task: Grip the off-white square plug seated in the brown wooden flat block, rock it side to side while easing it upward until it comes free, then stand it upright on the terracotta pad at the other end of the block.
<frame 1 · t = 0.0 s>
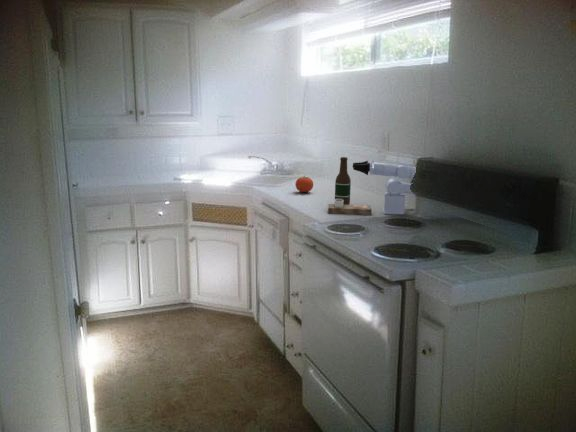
hand: (353, 166, 244), 22 cm above the worktop, tool horizontal, fingers open, 7 cm apart
beer bottle: (342, 204, 266), on the worktop
plug: (338, 211, 249), resting in brown wooden flat block
tomato: (304, 192, 299), on the worktop
brown wooden flat block: (349, 211, 248), on the worktop
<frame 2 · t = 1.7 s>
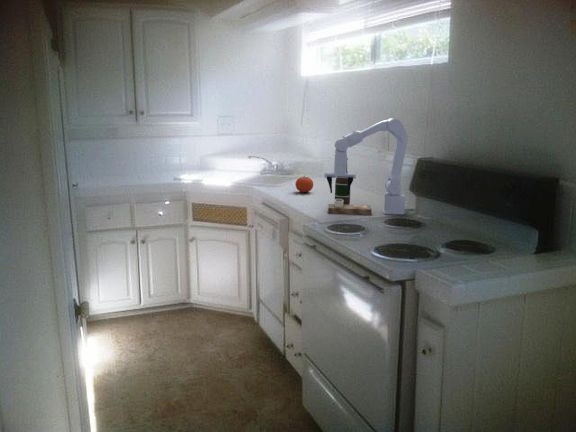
hand: (339, 193, 247), 9 cm above the worktop, tool pointing down, fingers open, 7 cm apart
nothing on the worktop moved.
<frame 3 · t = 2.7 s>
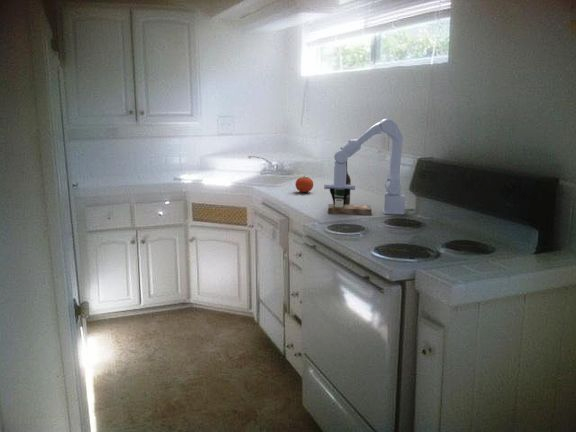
hand: (338, 204, 248), 3 cm above the worktop, tool pointing down, fingers closed on plug, 4 cm apart
plug: (338, 211, 249), resting in brown wooden flat block, touching gripper
everything else where it was.
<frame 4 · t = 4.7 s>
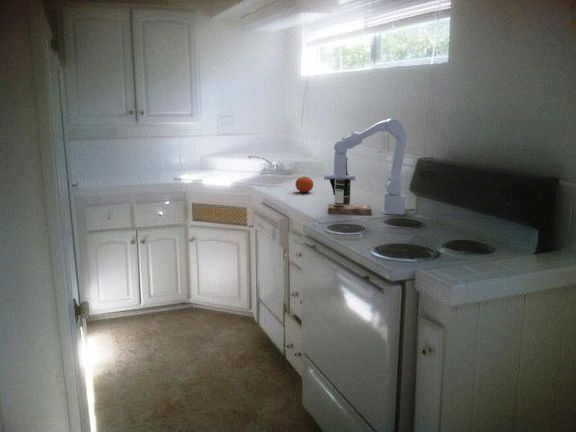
hand: (339, 195, 247), 8 cm above the worktop, tool pointing down, fingers closed on plug, 4 cm apart
plug: (338, 202, 248), point 4 cm above the worktop, touching gripper
everything else where it was.
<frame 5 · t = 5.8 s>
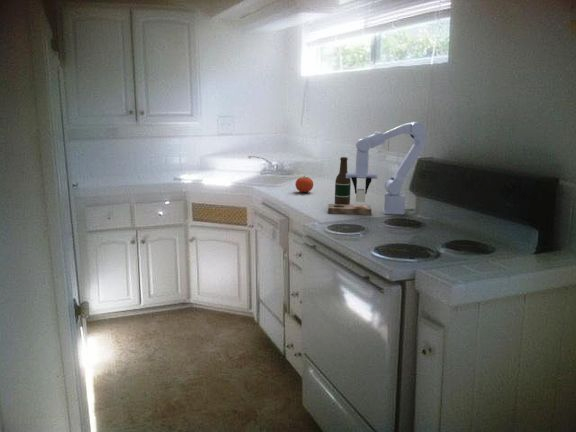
hand: (360, 193, 246), 9 cm above the worktop, tool pointing down, fingers closed on plug, 4 cm apart
plug: (360, 201, 247), point 5 cm above the worktop, touching gripper
everything else where it was.
when the fingers open (7 cm above the worktop, at t = 6.5 s): plug stays where it is, resting on brown wooden flat block.
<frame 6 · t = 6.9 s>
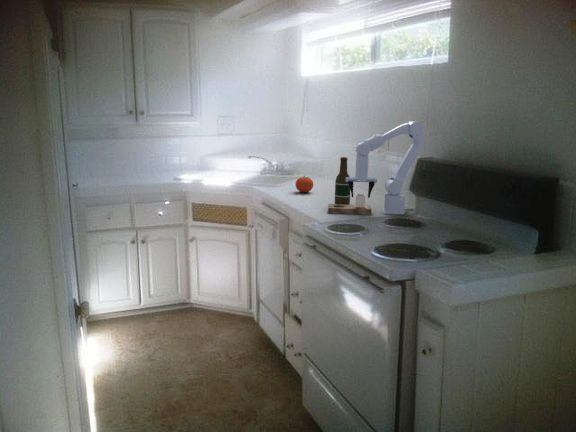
hand: (360, 197, 246), 7 cm above the worktop, tool pointing down, fingers open, 7 cm apart
plug: (360, 206, 247), point 3 cm above the worktop, touching brown wooden flat block
everything else where it was.
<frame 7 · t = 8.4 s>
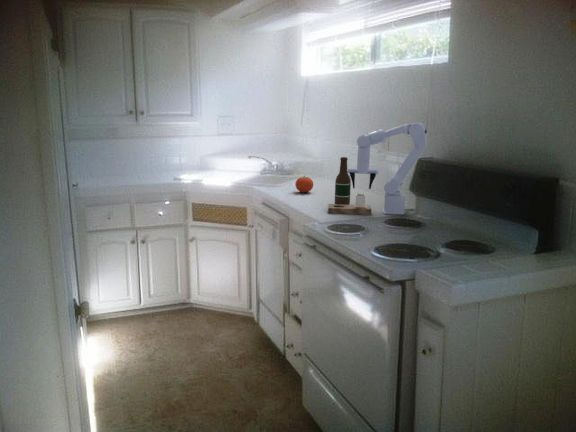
hand: (361, 188, 251), 10 cm above the worktop, tool pointing down, fingers open, 7 cm apart
nothing on the worktop moved.
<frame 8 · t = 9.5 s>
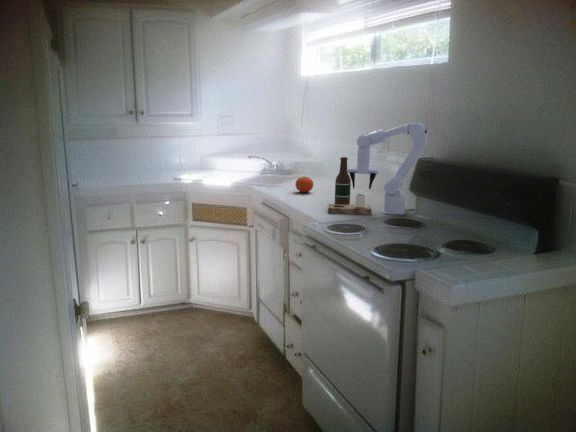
hand: (361, 188, 251), 10 cm above the worktop, tool pointing down, fingers open, 7 cm apart
nothing on the worktop moved.
at the end: plug 0.0 cm from the target spot on the brown wooden flat block, point 2.8 cm above the brown wooden flat block's base; plug tilted 0°; the gripper is holding nothing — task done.
